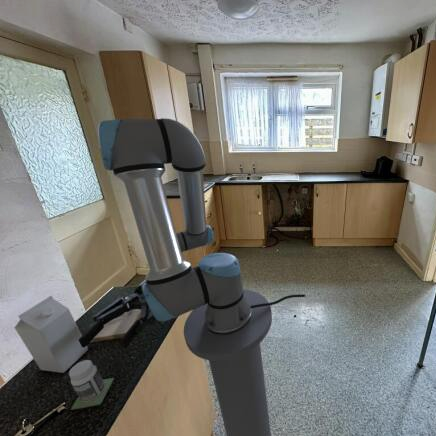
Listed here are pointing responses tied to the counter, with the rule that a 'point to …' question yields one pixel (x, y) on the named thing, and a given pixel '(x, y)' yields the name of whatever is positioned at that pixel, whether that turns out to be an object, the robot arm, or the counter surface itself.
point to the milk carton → (51, 335)
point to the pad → (97, 400)
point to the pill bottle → (86, 380)
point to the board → (118, 326)
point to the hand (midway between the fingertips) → (102, 343)
